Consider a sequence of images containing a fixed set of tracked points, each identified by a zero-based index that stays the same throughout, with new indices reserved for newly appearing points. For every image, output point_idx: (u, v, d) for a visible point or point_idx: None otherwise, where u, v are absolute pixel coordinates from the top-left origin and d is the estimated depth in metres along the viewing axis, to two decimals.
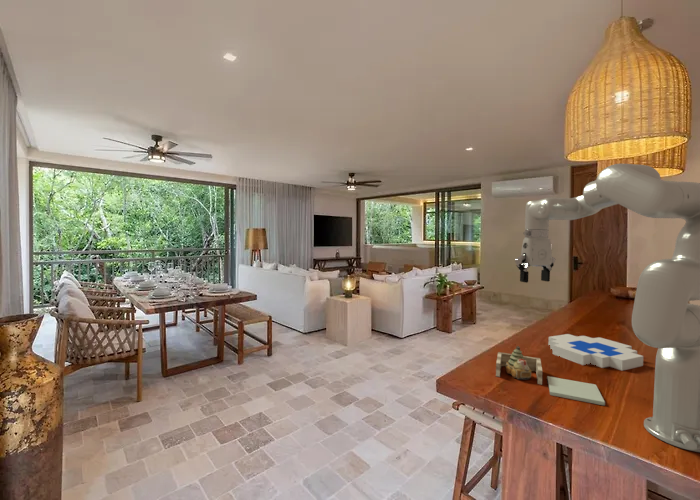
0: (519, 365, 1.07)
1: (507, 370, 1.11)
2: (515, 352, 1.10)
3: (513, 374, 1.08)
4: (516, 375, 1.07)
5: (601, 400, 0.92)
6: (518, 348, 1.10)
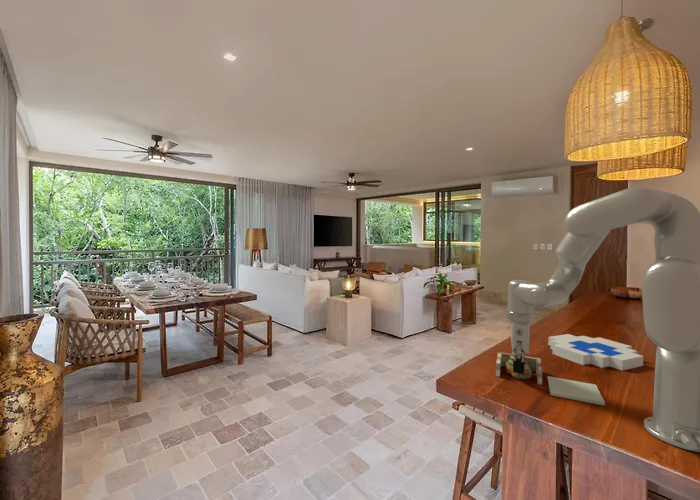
0: None
1: (507, 370, 1.11)
2: None
3: (513, 374, 1.08)
4: (516, 375, 1.07)
5: (601, 400, 0.92)
6: None
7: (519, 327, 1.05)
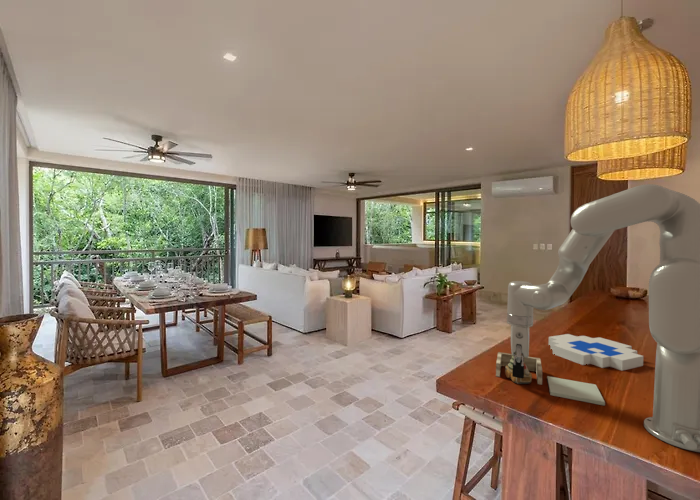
0: None
1: (507, 374, 1.08)
2: None
3: (513, 378, 1.05)
4: (516, 379, 1.04)
5: (601, 400, 0.92)
6: None
7: (519, 330, 1.02)
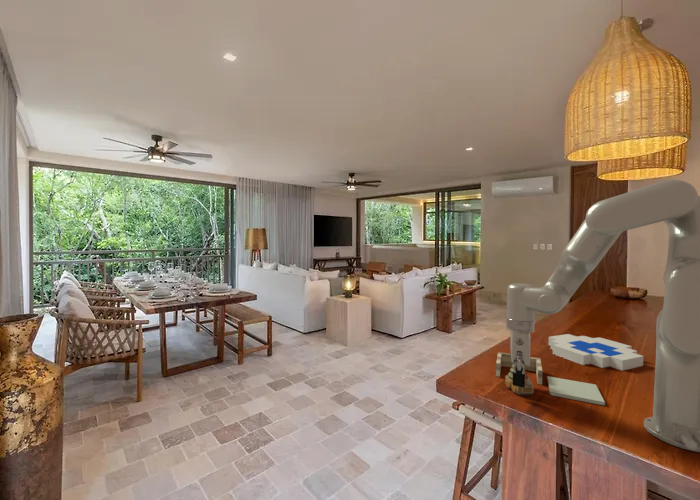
0: None
1: (507, 384, 1.01)
2: (516, 365, 0.99)
3: (514, 389, 0.97)
4: (517, 390, 0.96)
5: (601, 400, 0.92)
6: None
7: (519, 336, 0.95)
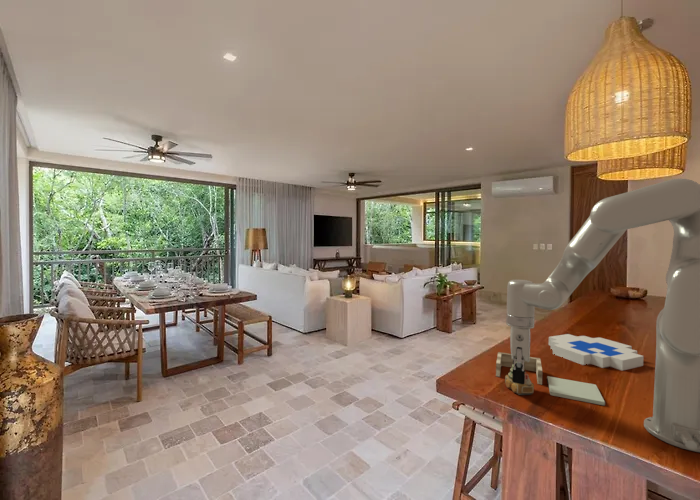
0: None
1: (507, 384, 1.01)
2: None
3: (513, 389, 0.97)
4: (517, 390, 0.96)
5: (601, 400, 0.92)
6: None
7: (519, 332, 0.95)
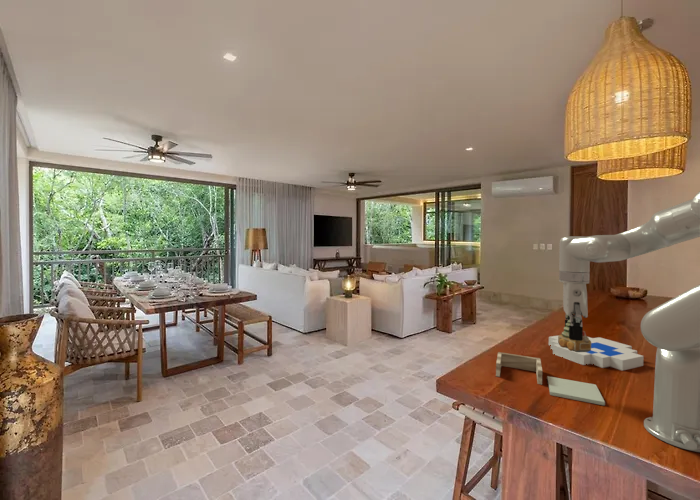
0: None
1: (561, 343, 0.99)
2: None
3: (570, 347, 0.96)
4: (574, 347, 0.95)
5: (601, 400, 0.92)
6: (573, 318, 0.98)
7: (576, 287, 0.93)
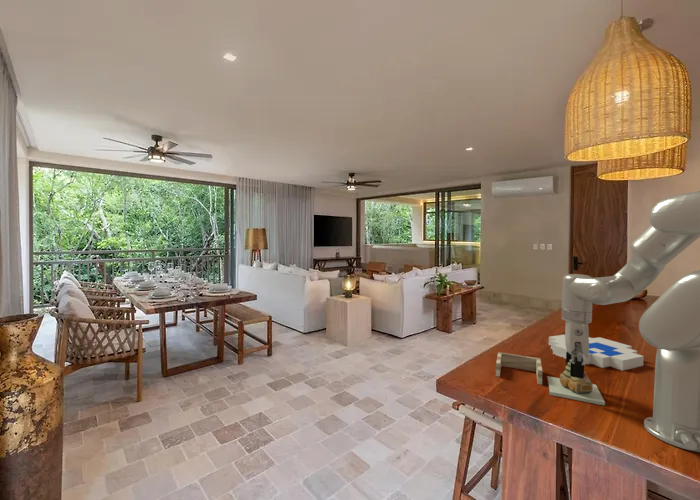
0: None
1: (563, 382, 1.00)
2: None
3: (571, 387, 0.96)
4: (575, 388, 0.95)
5: (601, 400, 0.92)
6: None
7: (578, 327, 0.94)
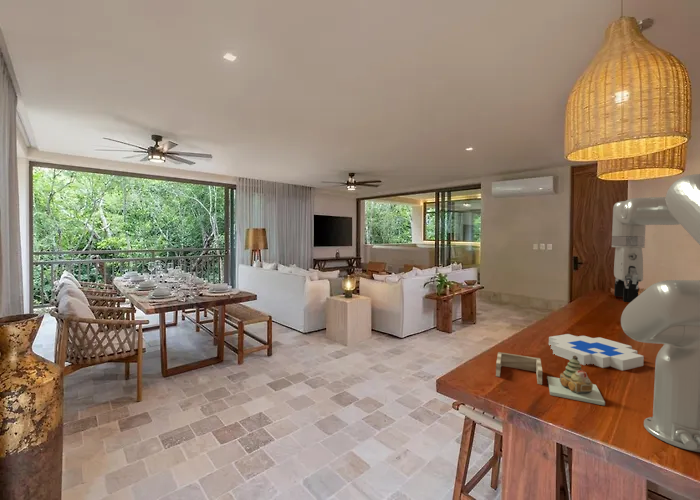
0: (579, 377, 0.95)
1: (563, 382, 1.00)
2: (573, 363, 0.98)
3: (571, 387, 0.96)
4: (575, 388, 0.95)
5: (601, 400, 0.92)
6: (575, 358, 0.98)
7: (632, 251, 0.93)
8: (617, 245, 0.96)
